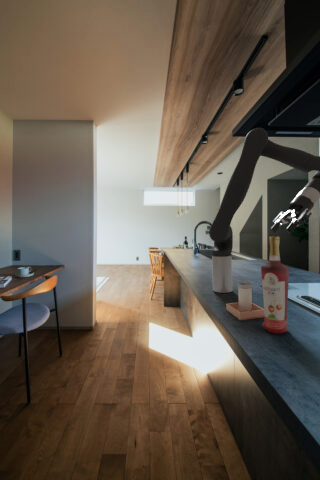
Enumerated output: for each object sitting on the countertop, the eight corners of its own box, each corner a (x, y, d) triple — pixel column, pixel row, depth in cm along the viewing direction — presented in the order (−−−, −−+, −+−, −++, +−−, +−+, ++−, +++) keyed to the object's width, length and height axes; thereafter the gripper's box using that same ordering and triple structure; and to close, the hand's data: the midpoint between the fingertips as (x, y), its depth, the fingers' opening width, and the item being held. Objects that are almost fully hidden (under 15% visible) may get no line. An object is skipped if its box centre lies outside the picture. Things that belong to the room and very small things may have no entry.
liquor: (293, 330, 67) (292, 236, 65) (284, 339, 62) (283, 237, 60) (267, 323, 72) (266, 236, 71) (257, 331, 67) (256, 237, 66)
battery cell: (236, 310, 82) (235, 280, 82) (247, 309, 83) (246, 279, 82) (242, 315, 78) (242, 284, 77) (254, 313, 79) (254, 282, 78)
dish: (226, 310, 84) (226, 303, 84) (249, 307, 86) (249, 301, 86) (240, 320, 75) (240, 313, 75) (265, 317, 77) (265, 309, 77)
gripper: (285, 197, 96) (261, 225, 94) (314, 191, 82) (287, 224, 80) (296, 209, 97) (273, 237, 95) (326, 206, 83) (300, 238, 81)
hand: (279, 231), depth 88 cm, fingers open, 8 cm apart
